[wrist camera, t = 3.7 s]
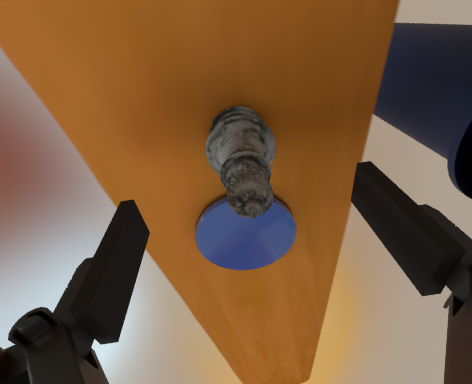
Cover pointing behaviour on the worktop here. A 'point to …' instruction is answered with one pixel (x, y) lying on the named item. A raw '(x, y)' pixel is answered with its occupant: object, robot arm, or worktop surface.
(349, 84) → the worktop surface
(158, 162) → the worktop surface
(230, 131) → the grey tall tiered piece
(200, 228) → the plate
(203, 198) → the worktop surface
